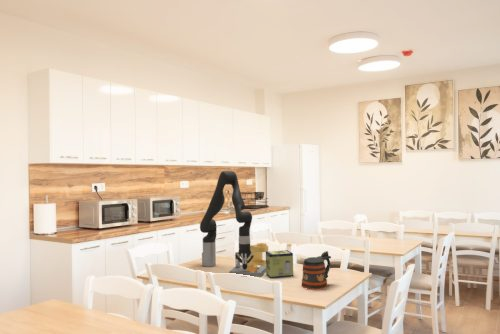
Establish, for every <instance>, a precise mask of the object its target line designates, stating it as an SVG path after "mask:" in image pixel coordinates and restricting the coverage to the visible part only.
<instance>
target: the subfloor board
mask: <svg viewBox="0 0 500 334" xmlns="http://www.w3.org/2000/svg"><path fill="white" fill-rule="evenodd" d="M247 266H248V265H247ZM256 266H258V270H257V271H256V272H250V271H247V269H246V270H244V269H243V267H242V264H240V268H235V266H234V267H233V268H231V269H230V270H229V272H228V274H229V273H236V274H243V275H250V276H257V277H256V278H261V277H262V276H264V274H266V266H260V265H256Z"/></svg>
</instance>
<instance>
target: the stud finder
mask: <svg viewBox="0 0 500 334" xmlns="http://www.w3.org/2000/svg"><path fill="white" fill-rule="evenodd" d="M257 270H258V266H254V265H248V266H247V271H250V272H256V271H257Z"/></svg>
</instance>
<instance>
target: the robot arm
mask: <svg viewBox="0 0 500 334" xmlns="http://www.w3.org/2000/svg"><path fill="white" fill-rule="evenodd" d="M239 183H240V182H239V179H238V176H237V173H236V172H235V171H232V170H222V171H221V172H220V174H219V176H218V179H217V182H216V187H215V188H214V189H215V190H214V192H213V194H212V197H211V199H210V202H209V205H208V207H207V209H206V211H205V214H204V216H203V217H202V219H201V221H200V224H199V230H200V231H201V233H203V234H206V233H207V234H206V235H205V236H204V237H203V238H202V251H201V267H204V268H205V267H208V268H210V267H211V268H212V267H215V266H216V265H217V262H216V261H217V257H216V256H217V255H216V253H217V251H216V249H217V248H216V239H217V222H216V220H215V219H213V218H214V217H215V216H216V215H218V213H219V212H221V210H222V208H223V206H224V204H225V199H226V197H225V195H224V188H225V186H226V185H228V186H229V185H231V187H232V194H231V202H232V204H233V207H234V212H235V220H236V222H237V223H239V224H243V225H241V226H239V228H238V254H236V255H234V257H236V258H237V259H238V261H239V262H240V264H241V265H242V267H243V269H244V270H246V269H247V263H249V262H250V261H251V260H252V259H253V257H254V255H253V254H251V251H250V246H251V234H250V233H251V232H250V230H251V225H252V221H253V215H252V214H253V213H251V212H250V211H247V210H246V211H243V210H245V208H246V204H245V202H244V199H243V196H242V193H241V189H240V184H239ZM239 255H240V257H239ZM249 256H250V257H251V258H250V259H249V260H248V257H249Z"/></svg>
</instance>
